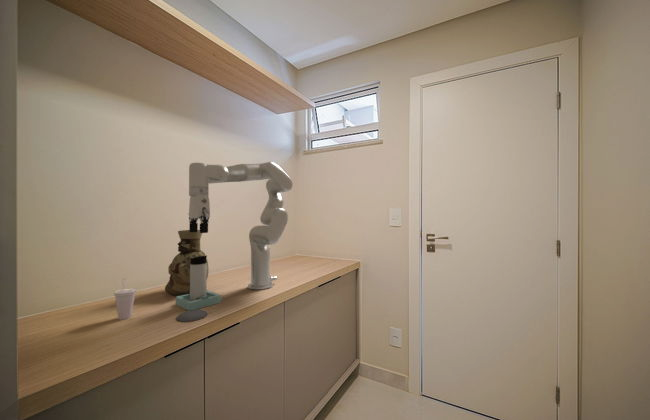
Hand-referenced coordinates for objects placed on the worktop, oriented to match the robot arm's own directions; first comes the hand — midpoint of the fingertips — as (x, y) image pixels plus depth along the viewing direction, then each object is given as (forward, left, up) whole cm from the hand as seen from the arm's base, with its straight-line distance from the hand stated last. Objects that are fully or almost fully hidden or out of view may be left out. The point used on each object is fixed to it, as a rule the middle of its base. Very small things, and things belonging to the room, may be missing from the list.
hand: (198, 232), depth 109 cm
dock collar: (0, 0, -30) cm, 30 cm away
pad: (+8, +13, -30) cm, 33 cm away
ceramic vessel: (-5, -23, -30) cm, 38 cm away
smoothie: (+24, -5, -30) cm, 39 cm away
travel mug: (0, 0, -30) cm, 30 cm away
